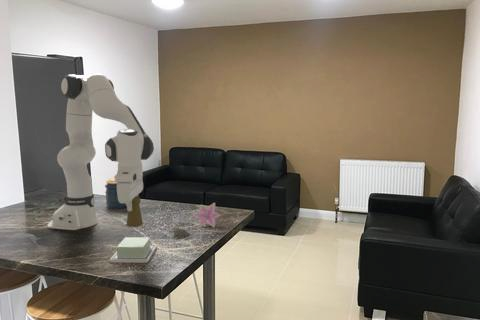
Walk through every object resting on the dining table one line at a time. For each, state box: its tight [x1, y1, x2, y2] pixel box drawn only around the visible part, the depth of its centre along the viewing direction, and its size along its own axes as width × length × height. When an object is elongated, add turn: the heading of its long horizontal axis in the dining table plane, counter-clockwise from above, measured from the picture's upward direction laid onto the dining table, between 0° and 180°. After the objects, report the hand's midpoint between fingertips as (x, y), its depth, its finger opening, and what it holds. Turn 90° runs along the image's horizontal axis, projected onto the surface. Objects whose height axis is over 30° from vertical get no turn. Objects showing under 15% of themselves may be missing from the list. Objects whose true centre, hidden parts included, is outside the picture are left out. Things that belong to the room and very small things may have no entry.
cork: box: [126, 195, 144, 228], centre depth 149 cm, size 6×6×11 cm
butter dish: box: [109, 236, 158, 264], centre depth 151 cm, size 14×14×5 cm
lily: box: [192, 202, 222, 228], centre depth 187 cm, size 12×12×10 cm
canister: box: [104, 174, 127, 210], centre depth 217 cm, size 13×13×18 cm
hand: (132, 208), depth 148 cm, fingers closed on cork, 4 cm apart
